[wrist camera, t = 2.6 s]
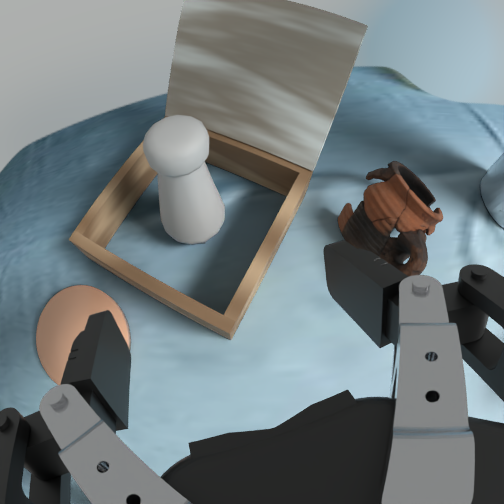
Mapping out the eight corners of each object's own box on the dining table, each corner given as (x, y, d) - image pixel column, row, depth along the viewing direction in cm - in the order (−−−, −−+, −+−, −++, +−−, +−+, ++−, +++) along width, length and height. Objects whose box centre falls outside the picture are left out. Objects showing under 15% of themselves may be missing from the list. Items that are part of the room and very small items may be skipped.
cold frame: (202, 108, 36) (191, -17, 20) (324, 155, 34) (368, 22, 18) (88, 258, 28) (-17, 149, 12) (231, 340, 26) (218, 282, 10)
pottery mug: (322, 195, 33) (372, 139, 27) (379, 220, 37) (426, 176, 31) (353, 296, 25) (427, 238, 20) (413, 307, 29) (475, 264, 24)
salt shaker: (158, 213, 30) (120, 120, 18) (210, 190, 32) (199, 90, 19) (180, 263, 28) (142, 182, 16) (236, 237, 30) (235, 145, 18)
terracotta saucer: (71, 270, 28) (67, 267, 27) (150, 321, 26) (147, 319, 25) (27, 353, 24) (22, 351, 23) (100, 414, 23) (96, 414, 22)
